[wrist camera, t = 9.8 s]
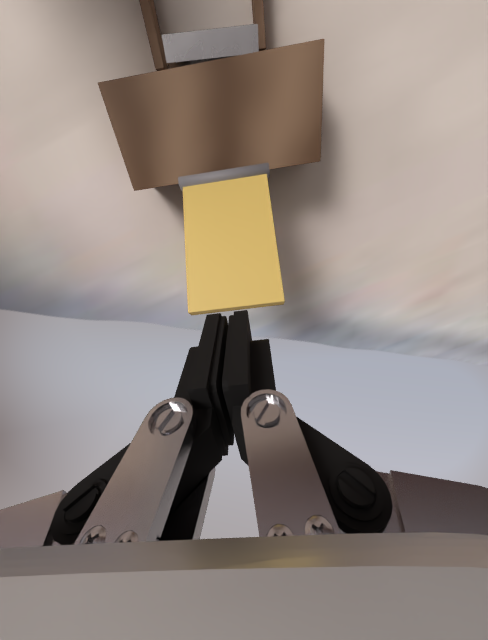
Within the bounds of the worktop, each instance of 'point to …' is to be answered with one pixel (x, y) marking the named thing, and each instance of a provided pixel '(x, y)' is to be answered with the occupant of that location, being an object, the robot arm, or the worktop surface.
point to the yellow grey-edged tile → (230, 240)
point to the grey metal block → (209, 44)
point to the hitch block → (218, 110)
